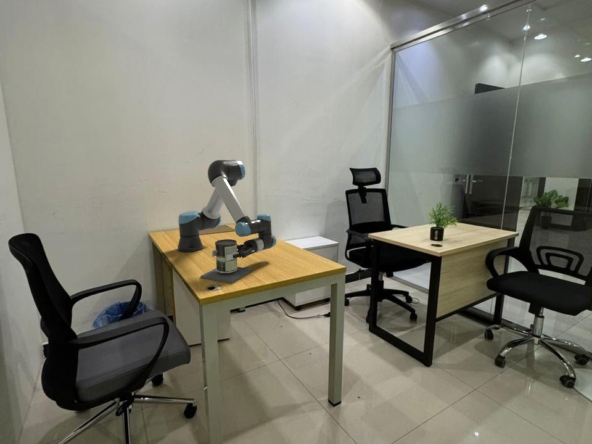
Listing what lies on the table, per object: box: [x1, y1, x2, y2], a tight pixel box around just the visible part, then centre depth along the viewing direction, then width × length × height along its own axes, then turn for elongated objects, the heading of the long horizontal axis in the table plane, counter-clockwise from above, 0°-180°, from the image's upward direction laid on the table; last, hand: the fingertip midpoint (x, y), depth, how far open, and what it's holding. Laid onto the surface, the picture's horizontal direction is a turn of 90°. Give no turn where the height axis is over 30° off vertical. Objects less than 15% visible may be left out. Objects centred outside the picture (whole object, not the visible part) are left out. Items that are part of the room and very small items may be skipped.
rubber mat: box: [200, 266, 254, 284], centre depth 153 cm, size 18×18×1 cm
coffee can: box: [214, 238, 238, 273], centre depth 151 cm, size 10×10×14 cm
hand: (219, 255), depth 148 cm, fingers closed on coffee can, 10 cm apart
